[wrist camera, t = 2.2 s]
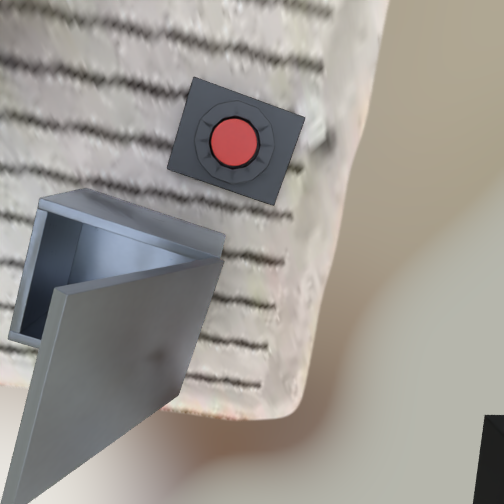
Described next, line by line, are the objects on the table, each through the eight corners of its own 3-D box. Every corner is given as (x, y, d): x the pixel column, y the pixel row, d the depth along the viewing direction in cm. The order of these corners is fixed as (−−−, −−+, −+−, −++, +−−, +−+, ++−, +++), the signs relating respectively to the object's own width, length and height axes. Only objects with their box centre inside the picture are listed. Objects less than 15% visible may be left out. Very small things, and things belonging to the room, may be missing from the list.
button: (207, 156, 35) (205, 157, 33) (220, 114, 34) (219, 112, 32) (248, 171, 35) (248, 172, 33) (262, 129, 34) (263, 127, 32)
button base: (169, 168, 38) (162, 169, 34) (195, 79, 36) (190, 72, 33) (272, 203, 39) (275, 208, 35) (303, 119, 37) (308, 115, 34)
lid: (-1, 506, 20) (10, 516, 20) (53, 287, 17) (67, 295, 17) (170, 390, 33) (178, 395, 33) (215, 256, 30) (224, 261, 30)
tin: (57, 300, 41) (7, 339, 32) (85, 187, 38) (39, 197, 30) (190, 341, 42) (175, 389, 33) (226, 234, 39) (220, 257, 31)
